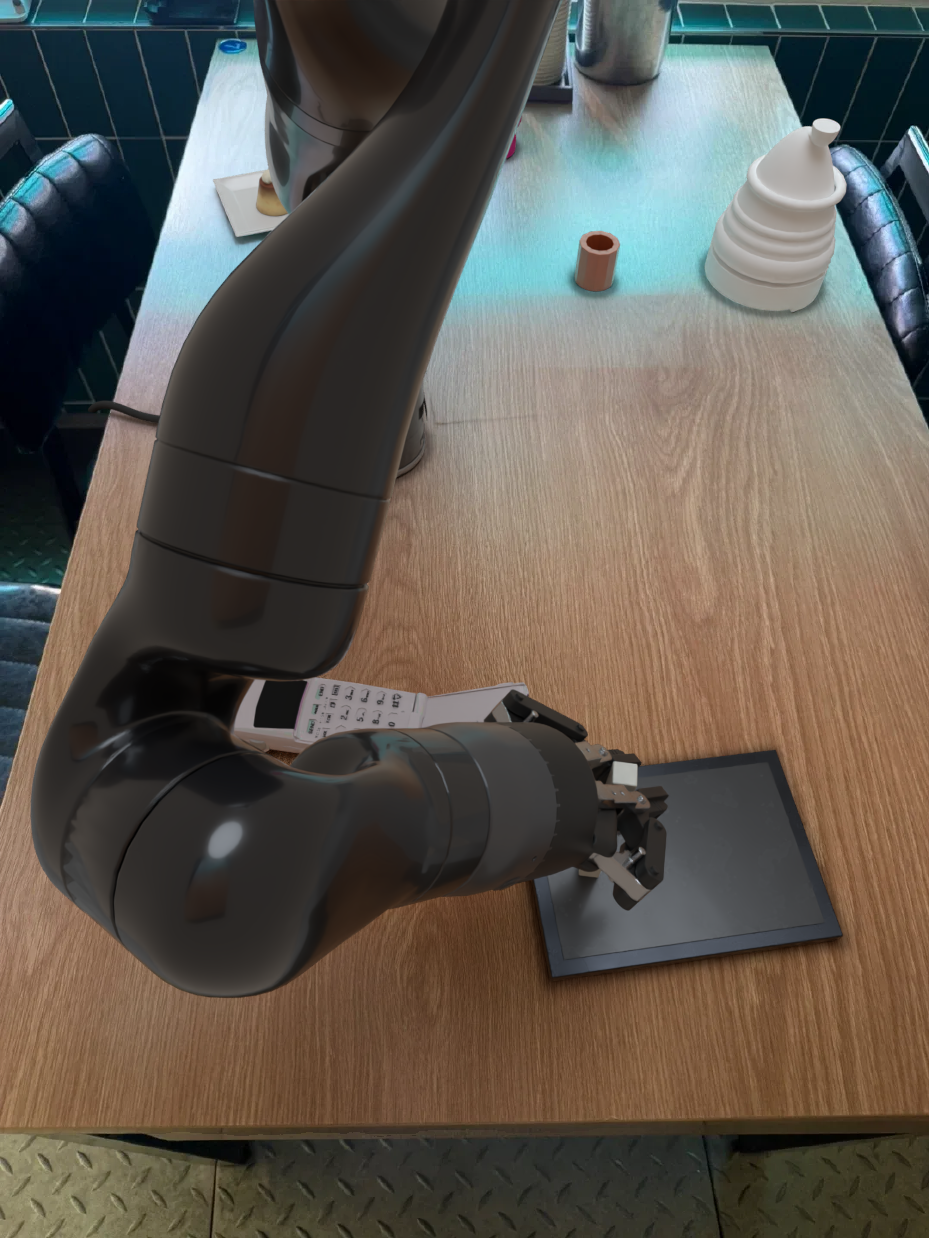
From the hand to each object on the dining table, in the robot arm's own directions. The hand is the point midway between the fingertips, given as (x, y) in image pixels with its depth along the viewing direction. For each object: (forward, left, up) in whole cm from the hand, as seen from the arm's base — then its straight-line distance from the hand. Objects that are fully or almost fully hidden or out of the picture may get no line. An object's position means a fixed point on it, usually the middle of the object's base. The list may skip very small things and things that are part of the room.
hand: (640, 784), depth 57 cm
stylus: (-2, -1, -11) cm, 11 cm away
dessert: (-21, +82, -12) cm, 86 cm away
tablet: (+4, -1, -12) cm, 13 cm away
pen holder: (+13, +64, -12) cm, 67 cm away
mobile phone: (-17, +12, -12) cm, 24 cm away
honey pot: (+32, +63, -12) cm, 72 cm away
